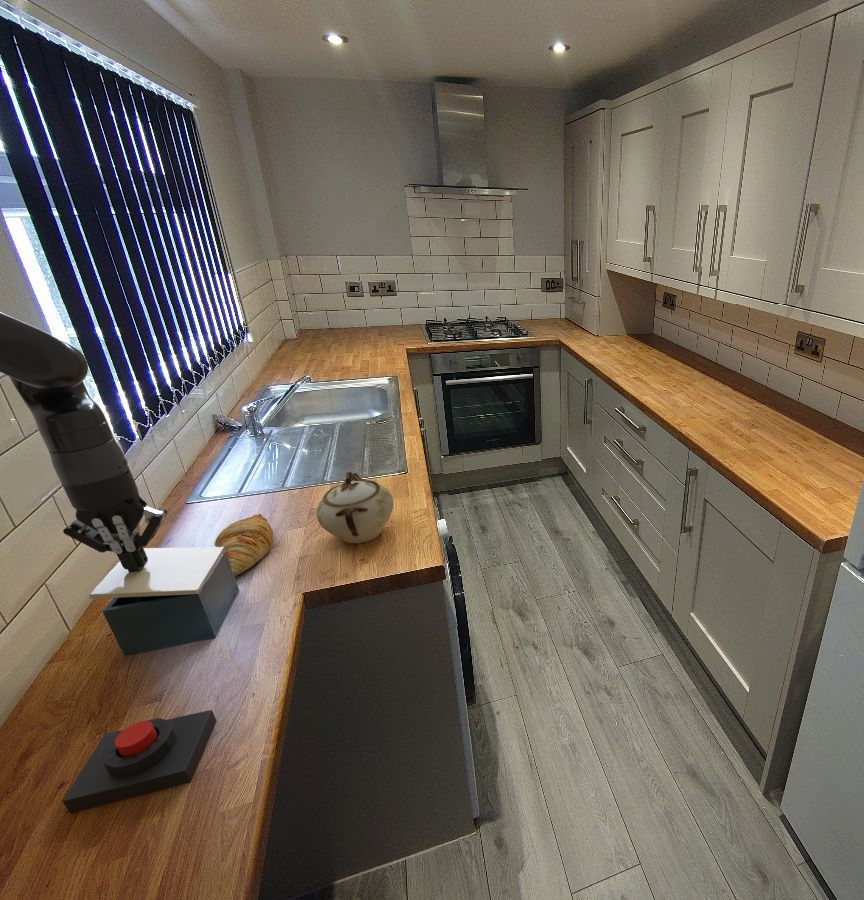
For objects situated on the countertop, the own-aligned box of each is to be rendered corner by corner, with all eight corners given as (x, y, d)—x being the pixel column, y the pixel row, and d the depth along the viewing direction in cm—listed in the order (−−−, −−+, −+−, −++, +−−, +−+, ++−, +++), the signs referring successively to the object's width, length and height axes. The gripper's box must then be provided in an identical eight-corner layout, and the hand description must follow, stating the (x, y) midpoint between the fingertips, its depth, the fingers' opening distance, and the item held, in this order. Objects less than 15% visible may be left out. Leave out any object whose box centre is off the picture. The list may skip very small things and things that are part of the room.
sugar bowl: (397, 551, 108) (384, 486, 102) (317, 566, 103) (298, 499, 97) (398, 506, 125) (387, 448, 119) (329, 517, 120) (314, 458, 114)
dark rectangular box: (123, 655, 82) (101, 611, 79) (159, 604, 94) (141, 563, 90) (215, 637, 86) (198, 594, 82) (239, 590, 97) (225, 550, 93)
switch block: (70, 813, 60) (55, 791, 59) (111, 745, 68) (98, 723, 67) (191, 782, 63) (179, 760, 62) (216, 720, 71) (207, 699, 70)
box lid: (89, 598, 78) (88, 594, 77) (131, 552, 89) (130, 548, 89) (197, 594, 82) (197, 590, 82) (224, 550, 93) (224, 546, 93)
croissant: (256, 592, 101) (268, 558, 100) (194, 583, 97) (205, 547, 95) (277, 534, 120) (287, 504, 118) (225, 524, 115) (235, 493, 113)
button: (113, 761, 62) (108, 751, 62) (128, 735, 65) (123, 725, 65) (149, 752, 63) (144, 742, 63) (162, 727, 66) (157, 717, 66)
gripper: (21, 489, 72) (74, 591, 79) (135, 475, 76) (176, 574, 83) (55, 467, 79) (101, 563, 86) (158, 455, 82) (194, 548, 89)
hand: (138, 568), depth 84 cm, fingers closed
